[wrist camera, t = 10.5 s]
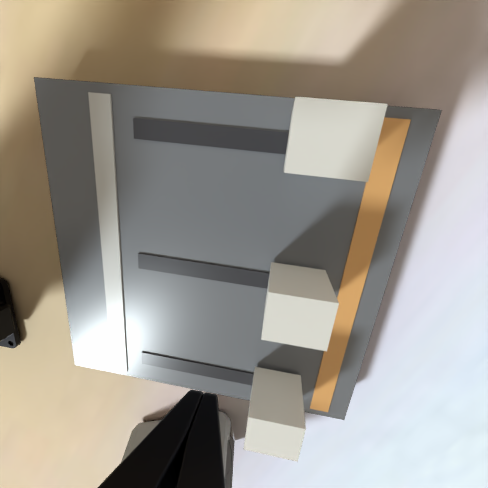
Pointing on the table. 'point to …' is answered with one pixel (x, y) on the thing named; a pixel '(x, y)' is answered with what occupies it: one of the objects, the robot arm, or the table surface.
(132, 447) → the electrical switch
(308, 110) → the handle
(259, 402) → the handle
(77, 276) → the breaker panel
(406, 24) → the table surface
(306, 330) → the handle middle
